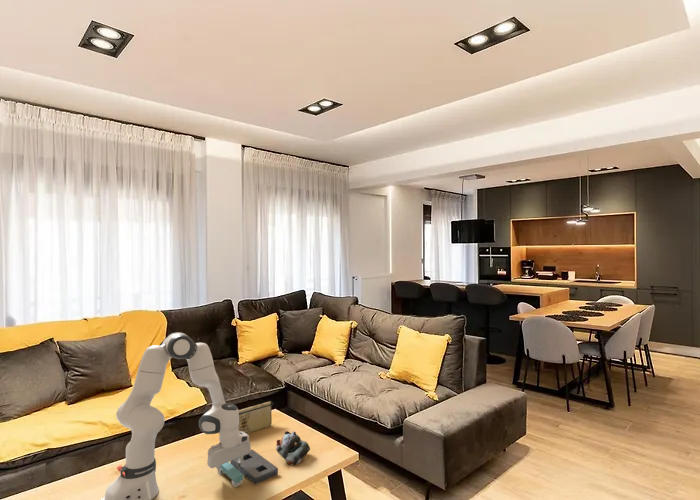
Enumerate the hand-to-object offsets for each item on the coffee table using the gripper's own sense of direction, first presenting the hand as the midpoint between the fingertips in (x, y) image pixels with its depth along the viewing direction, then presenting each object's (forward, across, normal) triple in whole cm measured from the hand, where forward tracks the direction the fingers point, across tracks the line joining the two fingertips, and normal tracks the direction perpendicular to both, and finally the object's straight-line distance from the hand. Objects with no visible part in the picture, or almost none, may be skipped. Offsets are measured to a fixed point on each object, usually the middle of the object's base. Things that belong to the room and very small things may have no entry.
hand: (229, 469), depth 187 cm
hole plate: (+4, +12, -2) cm, 12 cm away
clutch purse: (+4, +30, +36) cm, 47 cm away
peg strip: (+4, 0, 0) cm, 4 cm away
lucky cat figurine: (+4, +31, -7) cm, 32 cm away
